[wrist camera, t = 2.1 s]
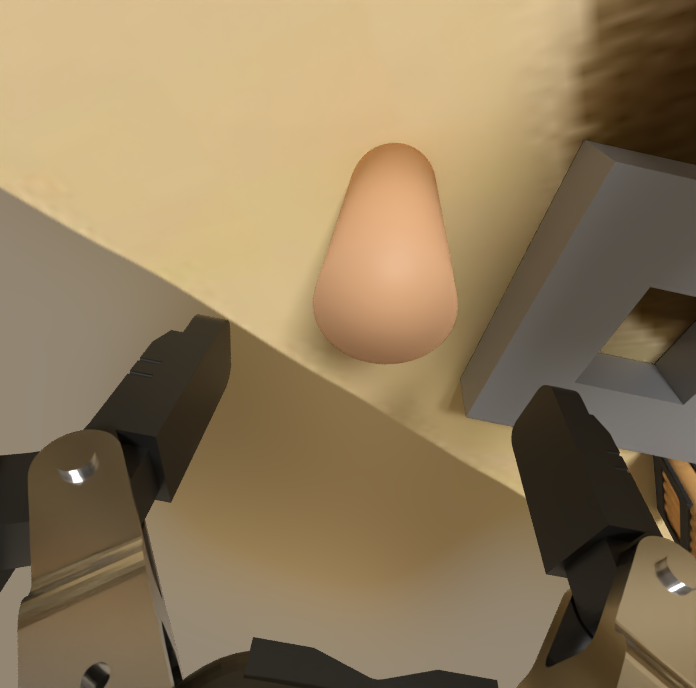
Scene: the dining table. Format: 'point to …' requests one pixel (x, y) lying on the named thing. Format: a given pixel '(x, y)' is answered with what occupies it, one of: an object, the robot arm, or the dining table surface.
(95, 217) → the dining table surface
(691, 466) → the ammunition clip
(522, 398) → the socket block
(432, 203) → the peg
